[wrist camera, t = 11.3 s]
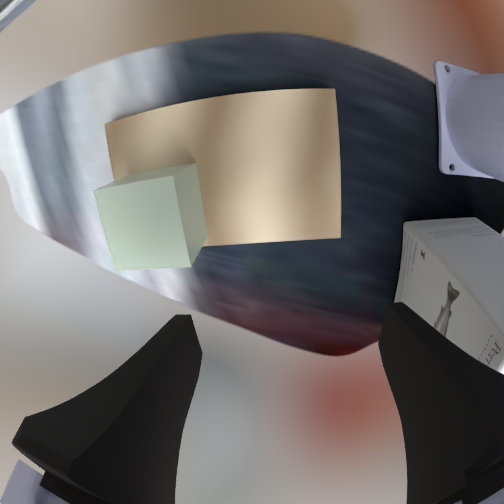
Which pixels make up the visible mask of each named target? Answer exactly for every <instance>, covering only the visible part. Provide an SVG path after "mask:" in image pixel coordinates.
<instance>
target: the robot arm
mask: <svg viewBox="0 0 504 504" xmlns="http://www.w3.org/2000/svg"><path fill="white" fill-rule="evenodd" d="M444 66H445V67H446V68H447V72H446V71H445V69H444ZM433 67H434V74H435V82H436V92H437V103H438V120H439V169H440V171H441V172H442V173H444V174H452V175H465V176H475V177H485V178H494V179H498V180H500V181H503V182H504V73H492V74H481V73H478V72H475V71H472V70H469V69H466V68H463V67H460V66H457V65H453V64H450V63H447V62H443V61H436V62H435V63H434V65H433ZM450 164H451V165H452V168H451V170H450V169H449V166H450ZM378 345H379V349H380V354H381V359H382V363H383V367H384V370H385V373H386V376H387V378H388V381H389V384H390V387H391V390H392V393H393V396H394V399H395V402H396V405H397V408H398V411H399V415H400V419H401V423H402V429H403V435H404V441H405V450H406V460H407V482H408V483H407V504H504V374H502V373H500V372H498V371H496V370H494V369H492V368H490V367H489V366H487V365H485V364H483V363H482V362H480V361H479V360H477V359H475V358H474V357H472V356H471V355H469V354H468V353H466V352H465V351H463V350H462V349H461V348H459V347H458V346H457V345H455V344H454V343H452V342H451V341H450V340H449V339H447V338H446V337H445V336H443V335H442V334H441V333H440V332H438V331H437V330H436V329H435V328H434V327H432V326H431V325H430V324H429V323H428V322H426V321H425V320H424V319H423V318H422V317H420V316H419V315H418V314H417V313H416V312H414V311H413V310H412V309H411V308H410V307H408V306H407V305H406V304H404V303H403V302H395V303H387V308H386V313H385V317H384V322H383V326H382V330H381V335H380V339H379V343H378ZM201 359H202V350H201V347H200V344H199V340H198V337H197V334H196V331H195V327H194V324H193V320H192V317H191V315H175V316H174V317H173V318H172V319H171V320H169V321H168V322H167V323H166V324H165V325H164V326H163V327H162V328H161V329H160V330H159V331H158V332H157V333H156V334H155V335H154V336H153V337H152V338H151V339H150V340H149V341H148V342H147V343H146V344H145V345H144V346H143V347H142V348H141V349H140V350H139V351H138V352H136V353H135V354H134V355H133V356H132V357H131V358H129V359H128V360H127V361H126V362H125V363H124V364H123V365H121V366H120V367H119V368H118V369H116V370H115V371H114V372H113V373H111V374H110V375H109V376H107V377H106V378H104V379H103V380H102V381H100V382H99V383H97V384H96V385H94V386H92V387H91V388H89V389H88V390H86V391H84V392H83V393H81V394H79V395H78V396H76V397H74V398H72V399H70V400H68V401H66V402H64V403H62V404H60V405H57V406H55V407H53V408H50V409H48V410H45V411H42V412H39V413H36V414H33V415H31V416H27V417H25V418H24V420H23V422H22V424H21V426H20V427H19V429H18V431H17V433H16V435H15V437H14V439H13V441H12V444H13V446H14V447H15V448H17V449H18V450H19V451H20V452H21V453H22V454H24V455H25V456H26V457H27V458H29V459H30V460H31V461H33V462H34V463H35V464H37V465H38V466H39V467H41V468H42V469H43V470H45V473H44V475H41V474H40V473H39V472H37V471H36V470H34V469H32V468H31V467H30V466H28V465H27V464H25V463H24V462H22V461H21V460H18V461H17V463H16V465H15V467H14V470H13V472H12V474H11V476H10V479H9V481H8V483H7V486H6V488H5V491H4V493H3V496H2V498H1V501H0V502H1V504H175V487H176V474H177V465H178V458H179V449H180V444H181V438H182V432H183V428H184V424H185V420H186V417H187V414H188V410H189V407H190V404H191V400H192V397H193V394H194V391H195V387H196V384H197V381H198V377H199V371H200V366H201Z"/></svg>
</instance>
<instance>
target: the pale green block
mask: <svg viewBox="0 0 504 504" xmlns="http://www.w3.org/2000/svg"><path fill="white" fill-rule="evenodd" d="M94 195H95V199H96V203H97V207H98V211H99V215H100V219H101V223H102V226H103V230H104V234H105V237H106V240H107V244H108V247H109V250H110V254H111V257H112V260H113V263H114V266H115V269H116V270H134V269H157V268H178V267H191V266H192V264H193V263H194V261H195V259H196V257H197V255H198V253H199V251H200V250H201V248H202V246H203V244H204V242H205V241H206V239H207V237H208V232H207V226H206V221H205V215H204V209H203V202H202V196H201V190H200V183H199V177H198V170H197V163H192V164H186V165H179V166H173V167H167V168H161V169H156V170H150V171H145V172H140V173H135V174H130V175H127V176H125V177H123V178H120V179H118V180H116V181H114V182H111V183H109V184H107V185H105V186H103V187H101V188H99V189H96V190H94Z"/></svg>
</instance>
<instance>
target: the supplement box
mask: <svg viewBox="0 0 504 504" xmlns="http://www.w3.org/2000/svg"><path fill="white" fill-rule="evenodd" d="M395 302H403V303H404V304H406V305H407V306H408V307H410V308H411V309H412V310H413V311H414V312H416V313H417V314H418V315H419V316H420V317H422V318H423V319H424V320H425V321H426V322H428V323H429V324H430V325H431V326H432V327H434V328H435V329H436V330H437V331H438V332H440V333H441V334H442V335H443V336H445V337H446V338H447V339H449V340H450V341H451V342H452V343H454V344H455V345H457V346H458V347H459V348H461V349H462V350H463V351H465V352H466V353H468V354H469V355H471V356H472V357H474V358H475V359H477V360H479V361H480V362H482V363H483V364H485V365H487V366H489V367H490V368H492V369H494V370H496V371H498V372H500V373H502V374H504V237H503V236H501V235H500V234H499V233H497V232H496V231H494V230H493V229H492V228H490V227H489V226H487V225H486V224H484V223H483V222H482V221H480V220H478V219H477V218H475V217H469V218H450V219H434V220H421V221H409V222H404V224H403V247H402V258H401V266H400V273H399V279H398V285H397V291H396V296H395V300H394V303H395Z"/></svg>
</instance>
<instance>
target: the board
mask: <svg viewBox="0 0 504 504" xmlns="http://www.w3.org/2000/svg"><path fill="white" fill-rule="evenodd" d="M105 130H106V137H107V143H108V150H109V156H110V161H111V167H112V172H113V177H114V181H116V180H118V179H120V178H123V177H125V176H127V175H130V174H135V173H140V172H145V171H150V170H156V169H161V168H167V167H173V166H179V165H186V164H192V163H197V170H198V177H199V183H200V190H201V196H202V202H203V209H204V215H205V221H206V226H207V232H208V237H207V239H206V241H205V242H204V244H203V246H215V245H230V244H246V243H261V242H277V241H293V240H310V239H327V238H341V171H340V146H339V129H338V116H337V104H336V94H335V89H287V90H271V91H259V92H249V93H240V94H232V95H225V96H218V97H212V98H206V99H200V100H195V101H190V102H185V103H180V104H175V105H171V106H166V107H162V108H158V109H154V110H150V111H146V112H142V113H139V114H135V115H132V116H128V117H125V118H122V119H119V120H115V121H112V122H109V123H106V124H105Z"/></svg>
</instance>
